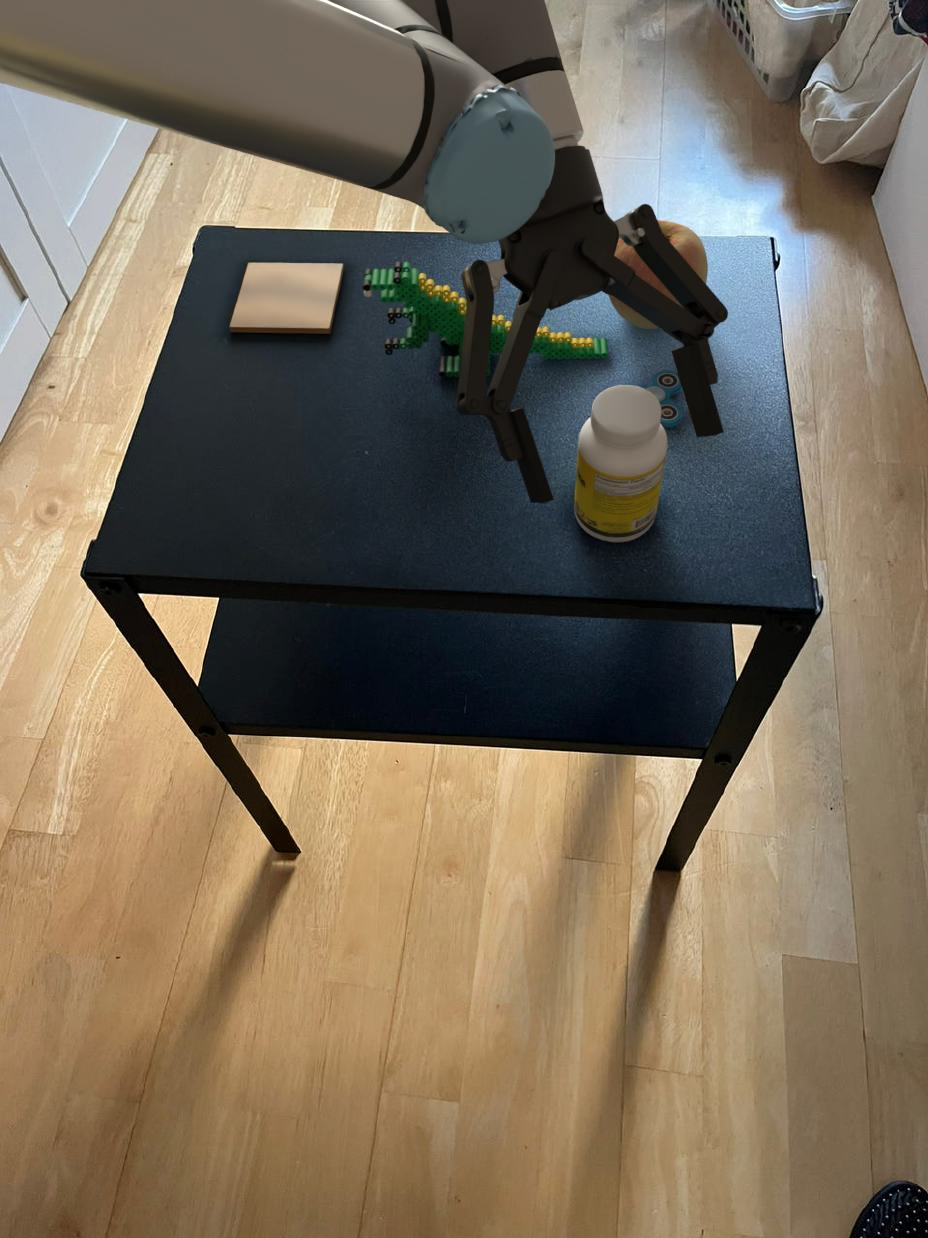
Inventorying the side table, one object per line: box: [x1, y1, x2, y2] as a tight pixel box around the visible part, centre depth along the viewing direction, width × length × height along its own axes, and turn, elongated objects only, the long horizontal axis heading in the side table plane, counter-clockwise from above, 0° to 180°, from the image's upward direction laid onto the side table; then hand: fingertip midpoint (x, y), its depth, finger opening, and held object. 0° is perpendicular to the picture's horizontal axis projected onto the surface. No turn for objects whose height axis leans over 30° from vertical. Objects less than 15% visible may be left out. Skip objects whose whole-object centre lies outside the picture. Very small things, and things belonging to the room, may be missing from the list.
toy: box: [621, 369, 683, 428], centre depth 85 cm, size 6×6×1 cm
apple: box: [608, 219, 709, 330], centre depth 88 cm, size 9×9×8 cm
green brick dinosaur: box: [362, 261, 609, 378], centre depth 86 cm, size 20×6×9 cm, turn 89°
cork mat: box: [229, 262, 345, 335], centre depth 94 cm, size 9×9×1 cm
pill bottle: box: [573, 384, 668, 543], centre depth 74 cm, size 6×6×11 cm
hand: (627, 467), depth 73 cm, fingers open, 13 cm apart
